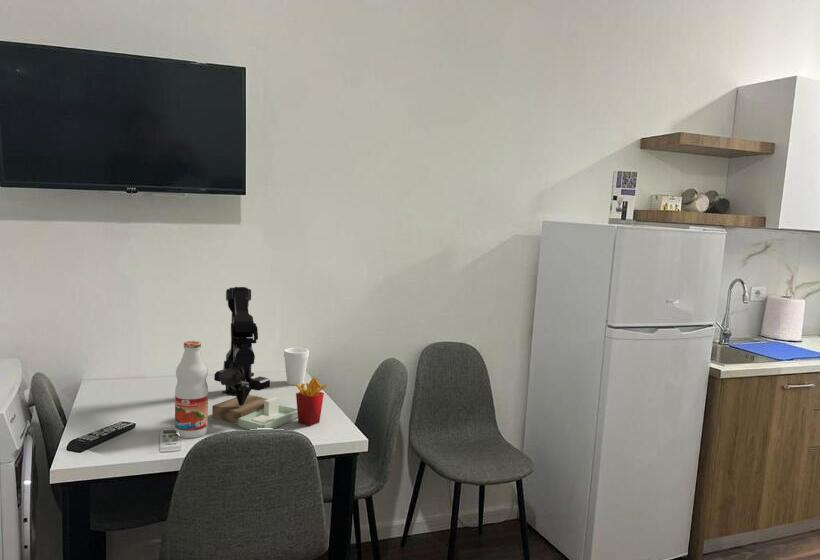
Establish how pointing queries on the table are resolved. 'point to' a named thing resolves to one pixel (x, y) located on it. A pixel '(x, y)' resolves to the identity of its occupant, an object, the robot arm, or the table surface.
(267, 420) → the tile
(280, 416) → the tray
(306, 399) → the french fries
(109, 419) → the table surface
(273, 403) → the tile
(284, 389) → the table surface
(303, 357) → the foam cup
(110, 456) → the table surface
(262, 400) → the board
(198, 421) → the fruit juice
